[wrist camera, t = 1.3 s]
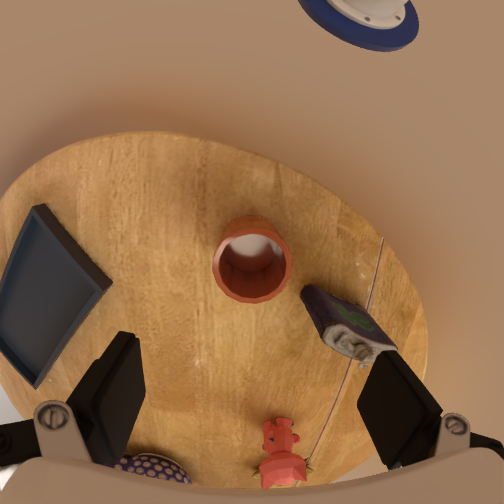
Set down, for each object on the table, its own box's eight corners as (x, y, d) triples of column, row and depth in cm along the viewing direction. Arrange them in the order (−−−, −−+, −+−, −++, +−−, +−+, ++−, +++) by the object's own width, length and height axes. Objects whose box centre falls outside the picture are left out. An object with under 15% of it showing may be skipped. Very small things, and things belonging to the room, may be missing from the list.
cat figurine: (263, 440, 37) (269, 500, 25) (244, 419, 35) (246, 485, 23) (304, 426, 36) (318, 487, 24) (289, 404, 34) (302, 471, 23)
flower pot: (223, 212, 27) (216, 223, 20) (284, 219, 28) (298, 233, 21) (217, 271, 29) (210, 299, 22) (276, 277, 29) (285, 306, 22)
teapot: (230, 477, 41) (229, 536, 26) (188, 492, 43) (182, 540, 29) (120, 421, 35) (94, 487, 21) (92, 442, 38) (70, 493, 24)
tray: (44, 203, 26) (32, 206, 23) (113, 282, 29) (103, 291, 26) (-6, 327, 31) (-14, 334, 28) (42, 381, 33) (35, 390, 31)
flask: (369, 308, 31) (411, 359, 20) (356, 328, 31) (392, 383, 21) (306, 279, 29) (336, 330, 19) (293, 301, 30) (315, 359, 20)
